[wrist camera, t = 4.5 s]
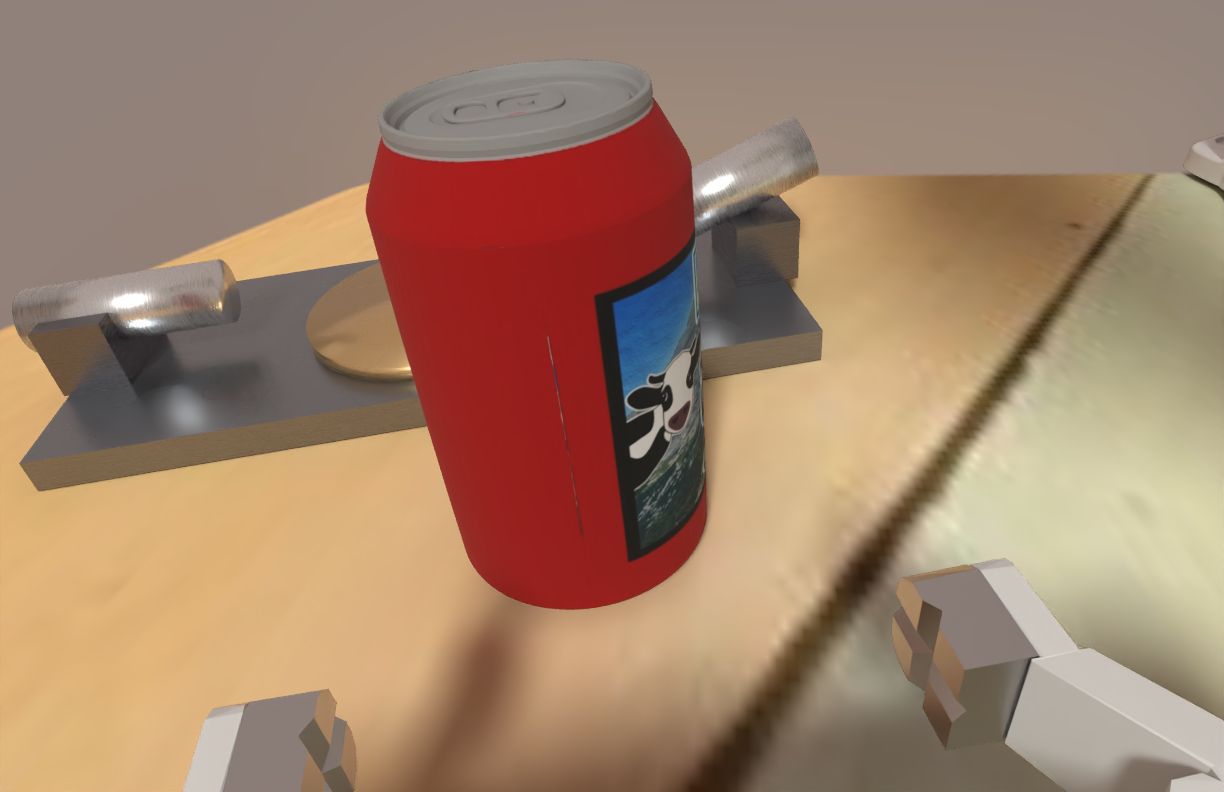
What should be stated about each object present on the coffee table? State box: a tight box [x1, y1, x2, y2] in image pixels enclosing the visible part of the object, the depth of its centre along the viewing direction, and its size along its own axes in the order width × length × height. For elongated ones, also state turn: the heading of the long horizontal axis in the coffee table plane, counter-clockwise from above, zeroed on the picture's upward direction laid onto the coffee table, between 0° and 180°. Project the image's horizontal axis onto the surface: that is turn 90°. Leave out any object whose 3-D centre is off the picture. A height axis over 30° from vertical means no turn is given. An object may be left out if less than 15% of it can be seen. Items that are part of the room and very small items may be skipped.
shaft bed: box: [12, 117, 823, 491], centre depth 30 cm, size 30×12×7 cm, turn 98°
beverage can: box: [366, 59, 707, 610], centre depth 19 cm, size 7×7×12 cm
